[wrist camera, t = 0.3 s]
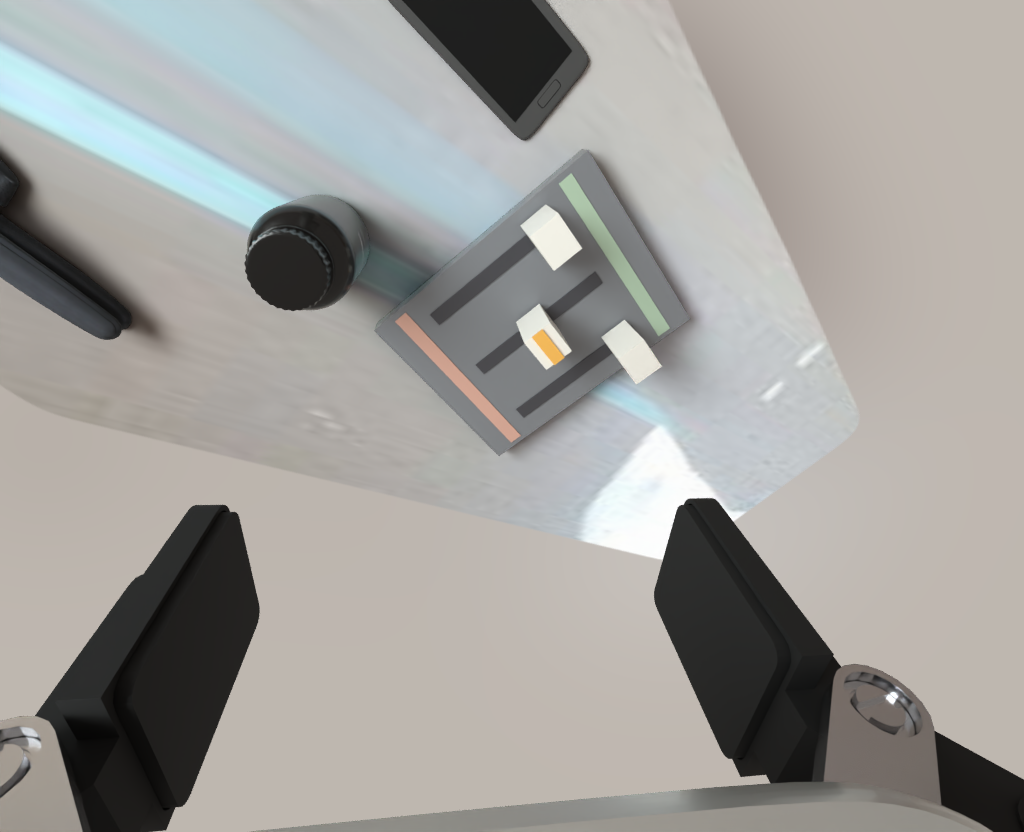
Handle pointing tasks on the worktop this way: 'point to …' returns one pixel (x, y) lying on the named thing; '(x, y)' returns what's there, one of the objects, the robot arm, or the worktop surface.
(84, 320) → the can opener
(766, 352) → the worktop surface
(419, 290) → the breaker board
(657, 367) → the block
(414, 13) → the cell phone
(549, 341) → the handle
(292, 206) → the supplement bottle
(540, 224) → the block
